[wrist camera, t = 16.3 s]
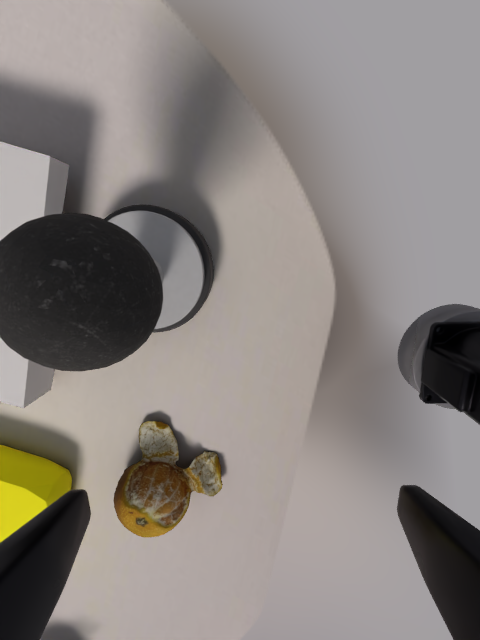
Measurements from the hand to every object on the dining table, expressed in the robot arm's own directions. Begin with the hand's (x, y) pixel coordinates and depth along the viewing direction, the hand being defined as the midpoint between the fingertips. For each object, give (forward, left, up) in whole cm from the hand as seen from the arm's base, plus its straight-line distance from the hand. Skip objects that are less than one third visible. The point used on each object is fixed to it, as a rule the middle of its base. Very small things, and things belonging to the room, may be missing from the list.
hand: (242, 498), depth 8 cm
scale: (+6, -5, -13) cm, 15 cm away
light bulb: (+6, -5, -11) cm, 14 cm away
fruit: (+6, +11, -13) cm, 18 cm away
